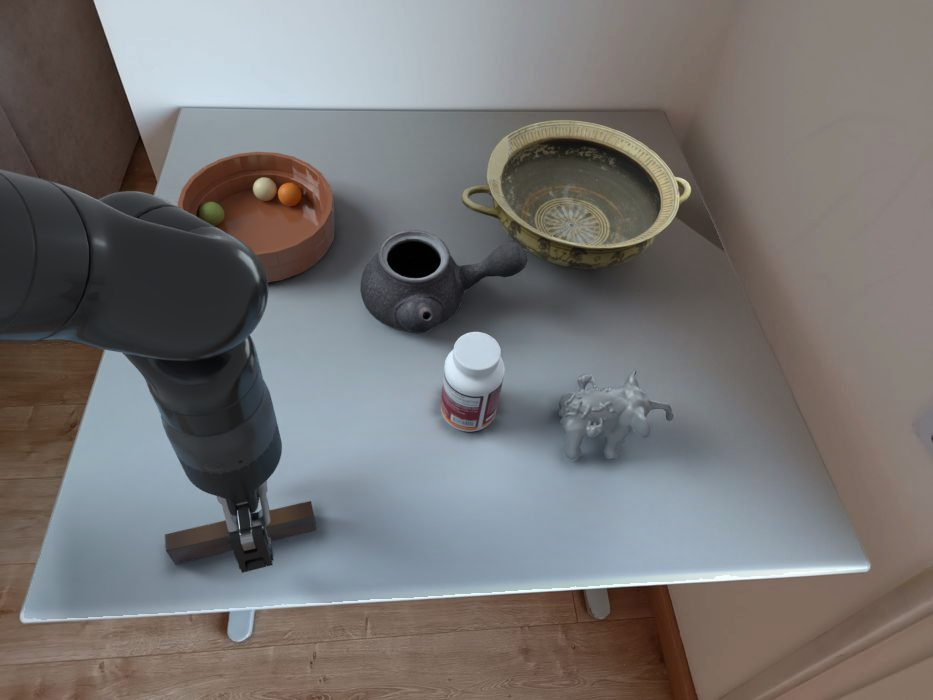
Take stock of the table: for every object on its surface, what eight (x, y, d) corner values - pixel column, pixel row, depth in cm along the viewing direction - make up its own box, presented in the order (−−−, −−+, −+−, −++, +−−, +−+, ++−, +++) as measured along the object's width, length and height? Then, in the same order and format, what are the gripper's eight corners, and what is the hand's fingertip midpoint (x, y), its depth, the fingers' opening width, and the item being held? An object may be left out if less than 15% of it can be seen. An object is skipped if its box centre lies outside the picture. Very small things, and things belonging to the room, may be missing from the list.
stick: (314, 515, 69) (311, 500, 67) (316, 530, 69) (314, 516, 66) (173, 548, 66) (164, 534, 64) (174, 564, 65) (165, 551, 63)
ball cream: (259, 203, 91) (279, 191, 92) (246, 182, 91) (266, 170, 91) (263, 206, 94) (282, 195, 95) (251, 187, 94) (270, 175, 94)
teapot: (368, 363, 81) (366, 307, 73) (356, 263, 89) (353, 203, 81) (529, 349, 84) (544, 293, 76) (502, 254, 93) (513, 195, 85)
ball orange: (290, 176, 91) (287, 197, 90) (307, 186, 93) (304, 207, 93) (274, 181, 93) (271, 202, 92) (292, 191, 95) (289, 212, 94)
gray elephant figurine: (538, 409, 79) (551, 370, 73) (631, 381, 83) (651, 342, 76) (575, 481, 74) (592, 446, 68) (672, 449, 78) (697, 412, 72)
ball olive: (222, 214, 92) (229, 202, 90) (217, 233, 91) (225, 222, 88) (198, 205, 90) (205, 193, 88) (193, 225, 89) (200, 213, 87)
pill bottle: (480, 378, 81) (492, 318, 72) (505, 422, 78) (520, 364, 69) (430, 396, 79) (436, 335, 70) (453, 441, 76) (462, 384, 67)
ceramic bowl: (647, 174, 105) (668, 116, 97) (701, 297, 91) (731, 242, 83) (445, 179, 100) (450, 119, 92) (470, 310, 87) (478, 253, 79)
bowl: (193, 297, 84) (183, 265, 80) (183, 194, 94) (173, 160, 90) (347, 273, 88) (345, 241, 84) (321, 177, 98) (318, 144, 94)
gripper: (290, 500, 49) (309, 577, 63) (262, 340, 57) (284, 438, 70) (176, 526, 48) (220, 600, 61) (163, 357, 55) (205, 454, 68)
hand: (254, 513), depth 65 cm, fingers open, 8 cm apart
